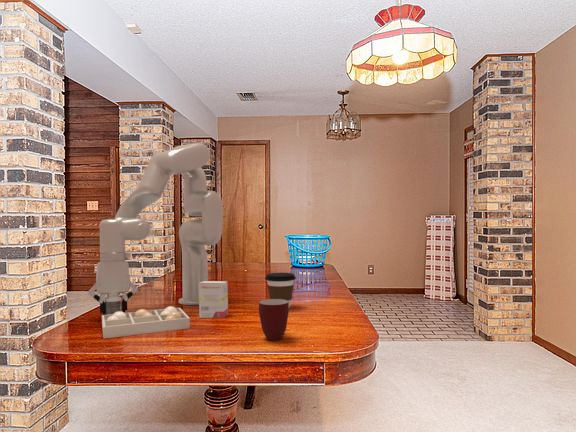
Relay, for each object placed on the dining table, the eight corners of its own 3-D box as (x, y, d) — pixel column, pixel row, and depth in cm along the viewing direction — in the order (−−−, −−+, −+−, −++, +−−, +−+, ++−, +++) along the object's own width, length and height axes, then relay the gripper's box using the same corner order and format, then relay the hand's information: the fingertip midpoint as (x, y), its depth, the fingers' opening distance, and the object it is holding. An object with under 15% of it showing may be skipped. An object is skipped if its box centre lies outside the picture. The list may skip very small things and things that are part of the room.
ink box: (228, 316, 147) (228, 280, 146) (224, 319, 142) (224, 283, 142) (203, 315, 148) (203, 280, 148) (198, 319, 143) (198, 282, 143)
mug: (260, 332, 126) (260, 297, 126) (289, 332, 126) (288, 297, 126) (258, 343, 116) (257, 305, 116) (289, 343, 116) (288, 304, 116)
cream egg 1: (119, 323, 136) (119, 309, 136) (130, 324, 134) (129, 310, 134) (102, 328, 130) (102, 314, 130) (113, 330, 128) (113, 315, 128)
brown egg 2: (171, 323, 135) (171, 309, 135) (184, 324, 134) (184, 309, 134) (160, 329, 129) (160, 314, 129) (173, 330, 128) (173, 315, 128)
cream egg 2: (169, 318, 142) (168, 304, 142) (180, 319, 141) (180, 305, 141) (156, 323, 136) (155, 309, 136) (168, 324, 135) (167, 310, 135)
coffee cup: (302, 307, 158) (302, 274, 158) (281, 313, 150) (280, 277, 150) (280, 303, 165) (280, 271, 165) (259, 308, 157) (258, 274, 157)
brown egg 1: (130, 324, 135) (130, 309, 135) (141, 320, 139) (141, 307, 139) (146, 326, 132) (146, 312, 132) (157, 323, 136) (157, 309, 136)
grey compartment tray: (179, 318, 144) (179, 307, 144) (189, 330, 130) (189, 317, 130) (101, 327, 135) (101, 315, 134) (103, 340, 120) (103, 327, 120)
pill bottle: (124, 320, 142) (124, 290, 142) (106, 323, 139) (106, 292, 139) (120, 317, 146) (120, 288, 146) (103, 320, 143) (102, 289, 143)
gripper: (139, 255, 149) (140, 308, 149) (83, 258, 142) (84, 314, 142) (142, 257, 142) (142, 313, 143) (83, 260, 135) (84, 319, 136)
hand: (113, 313), depth 143 cm, fingers closed on pill bottle, 5 cm apart
